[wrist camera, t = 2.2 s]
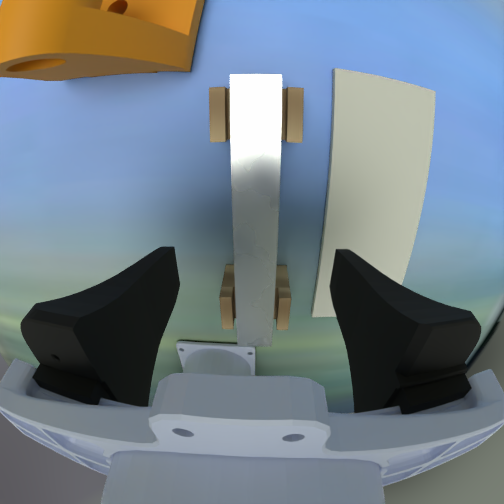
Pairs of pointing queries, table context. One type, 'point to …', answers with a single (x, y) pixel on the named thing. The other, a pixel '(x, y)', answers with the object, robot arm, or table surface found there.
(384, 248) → the mat
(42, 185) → the table surface
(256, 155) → the rail
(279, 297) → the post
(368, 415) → the robot arm
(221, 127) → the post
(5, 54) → the bracket
